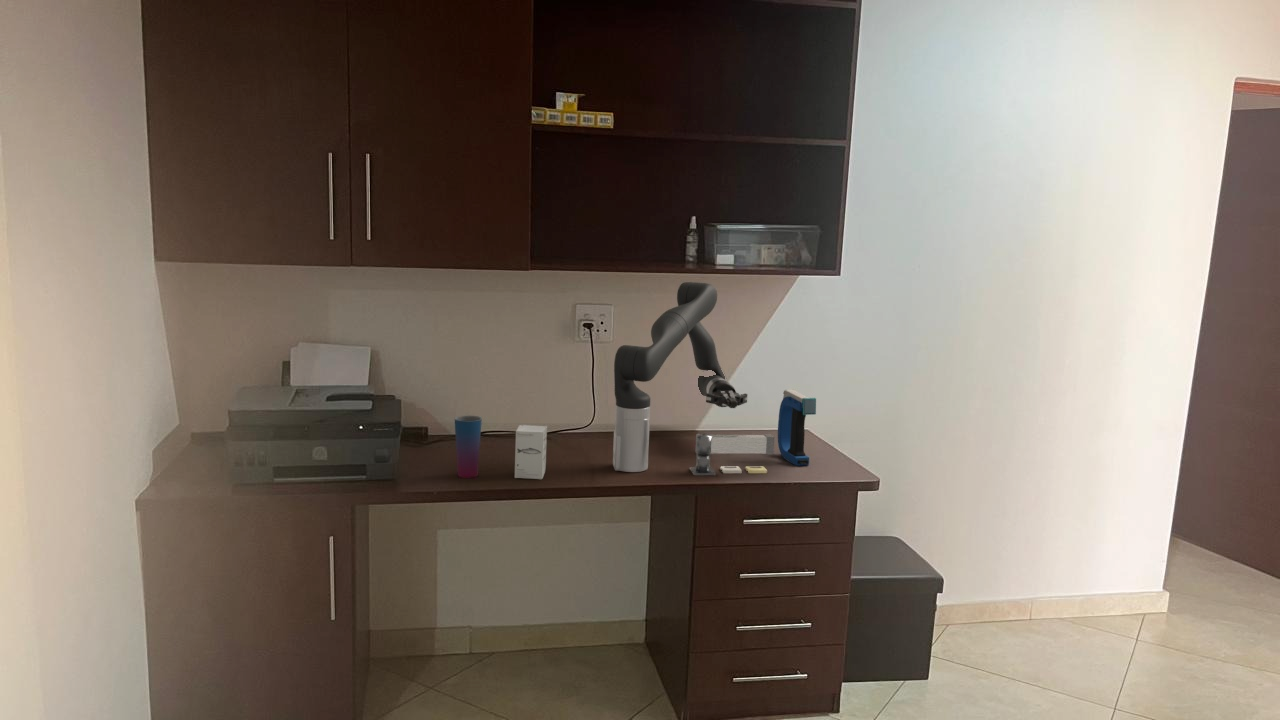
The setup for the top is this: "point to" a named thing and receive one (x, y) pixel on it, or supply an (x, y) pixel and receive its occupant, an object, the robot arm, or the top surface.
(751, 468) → the label plate
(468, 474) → the cup
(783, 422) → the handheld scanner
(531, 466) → the supplement box
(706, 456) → the gray square plate
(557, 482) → the top surface
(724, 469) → the label plate
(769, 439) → the bar
